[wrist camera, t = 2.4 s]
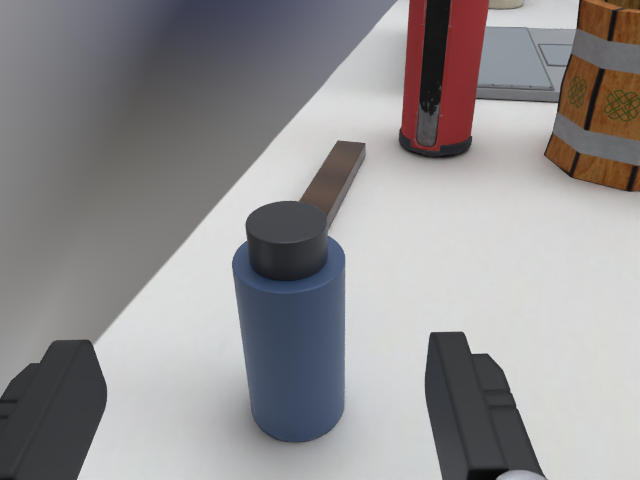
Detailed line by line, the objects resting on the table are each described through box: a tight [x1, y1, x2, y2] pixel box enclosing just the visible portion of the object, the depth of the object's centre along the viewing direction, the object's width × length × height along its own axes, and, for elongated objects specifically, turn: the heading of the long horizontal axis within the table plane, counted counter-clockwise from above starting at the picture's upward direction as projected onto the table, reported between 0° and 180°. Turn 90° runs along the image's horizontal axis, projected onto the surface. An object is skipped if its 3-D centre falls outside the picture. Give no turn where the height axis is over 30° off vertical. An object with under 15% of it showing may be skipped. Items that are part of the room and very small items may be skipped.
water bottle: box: [232, 201, 345, 442], centre depth 27 cm, size 5×5×12 cm
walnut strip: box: [299, 141, 366, 230], centre depth 50 cm, size 18×3×2 cm, turn 164°
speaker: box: [399, 0, 489, 157], centre depth 55 cm, size 8×8×18 cm
